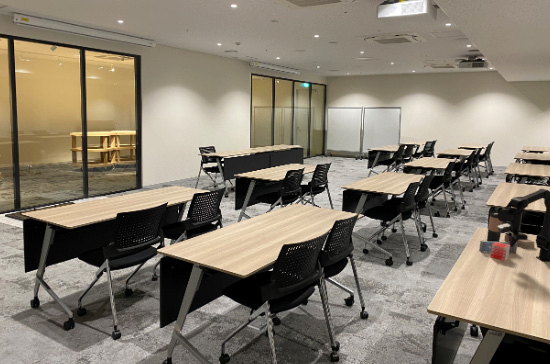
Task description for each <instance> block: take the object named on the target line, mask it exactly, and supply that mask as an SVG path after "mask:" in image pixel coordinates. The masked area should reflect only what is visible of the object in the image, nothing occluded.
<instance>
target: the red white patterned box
mask: <svg viewBox="0 0 550 364" xmlns="http://www.w3.org/2000/svg"><path fill="white" fill-rule="evenodd" d="M500 242H501V241H499V242H495V243H493V244H492V249H491V252H490V256H489V257H490V258H492V259H496V260H500V261H504V262H505V261H506V260H507V259H508V258H509V255H510V253H509V248H510V245H509V244H504V243H500Z"/></svg>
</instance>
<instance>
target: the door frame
mask: <svg viewBox="0 0 550 364" xmlns="http://www.w3.org/2000/svg"><path fill="white" fill-rule="evenodd" d="M485 243H486V242H485V240H480V244H479V249H478V250H479V252H480V253H485V251H484V250H485ZM517 244H518V243H515V245H514V246H513V247H512V252H511V254H517V249H518V246H517Z"/></svg>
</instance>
